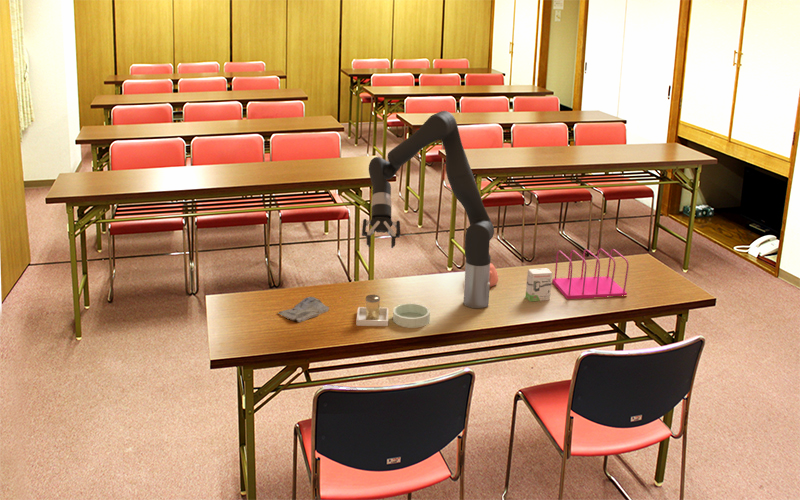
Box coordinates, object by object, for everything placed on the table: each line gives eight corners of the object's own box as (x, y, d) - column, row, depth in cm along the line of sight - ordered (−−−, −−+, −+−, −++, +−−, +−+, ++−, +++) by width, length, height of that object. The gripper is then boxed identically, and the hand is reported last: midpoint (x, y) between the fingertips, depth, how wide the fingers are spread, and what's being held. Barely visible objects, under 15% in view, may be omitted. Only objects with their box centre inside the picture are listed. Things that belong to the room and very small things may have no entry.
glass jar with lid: (379, 315, 261) (380, 294, 258) (379, 322, 256) (379, 300, 253) (365, 315, 261) (366, 294, 258) (365, 321, 256) (365, 300, 253)
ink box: (529, 301, 277) (532, 273, 273) (524, 296, 281) (527, 269, 277) (550, 300, 279) (553, 272, 275) (545, 295, 283) (547, 267, 279)
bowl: (428, 313, 265) (429, 303, 264) (430, 329, 253) (430, 319, 252) (393, 312, 265) (393, 302, 264) (392, 328, 253) (393, 318, 251)
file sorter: (551, 282, 296) (555, 247, 291) (608, 280, 300) (613, 245, 294) (567, 299, 280) (571, 262, 274) (627, 296, 284) (632, 260, 278)
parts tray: (388, 313, 264) (388, 307, 263) (387, 327, 254) (387, 320, 253) (358, 313, 264) (358, 307, 263) (356, 326, 254) (356, 320, 253)
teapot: (476, 291, 285) (477, 269, 282) (461, 275, 302) (462, 254, 298) (504, 289, 288) (506, 267, 285) (487, 272, 305) (489, 251, 301)
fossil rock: (295, 325, 255) (295, 319, 254) (272, 312, 265) (271, 306, 264) (334, 311, 266) (334, 305, 265) (310, 299, 276) (310, 293, 276)
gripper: (363, 201, 265) (362, 242, 259) (401, 203, 267) (401, 243, 261) (362, 210, 272) (361, 249, 266) (399, 212, 274) (399, 251, 268)
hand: (381, 246), depth 264 cm, fingers open, 8 cm apart
